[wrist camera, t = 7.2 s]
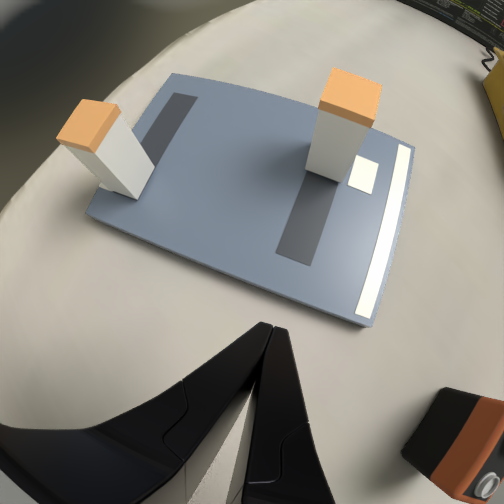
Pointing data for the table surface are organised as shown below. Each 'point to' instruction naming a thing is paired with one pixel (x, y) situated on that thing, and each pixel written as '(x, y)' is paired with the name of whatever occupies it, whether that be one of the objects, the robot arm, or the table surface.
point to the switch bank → (264, 197)
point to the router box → (469, 17)
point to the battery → (461, 445)
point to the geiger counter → (496, 86)
